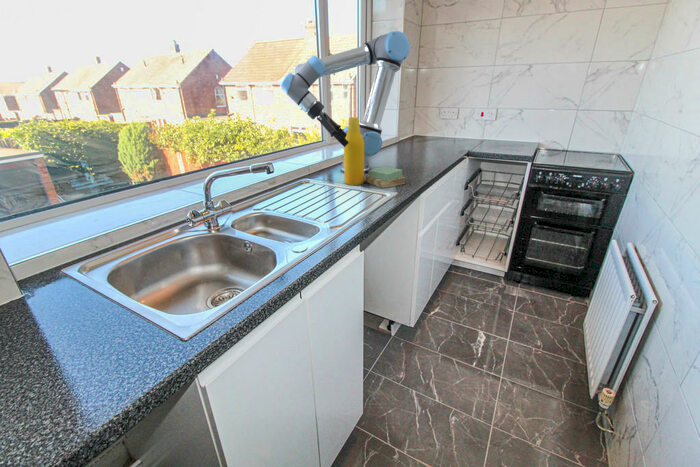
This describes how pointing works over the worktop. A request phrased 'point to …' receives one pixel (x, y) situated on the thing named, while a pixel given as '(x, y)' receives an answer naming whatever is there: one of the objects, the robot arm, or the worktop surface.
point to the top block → (385, 173)
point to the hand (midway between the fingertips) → (347, 142)
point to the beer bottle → (354, 154)
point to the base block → (385, 183)
